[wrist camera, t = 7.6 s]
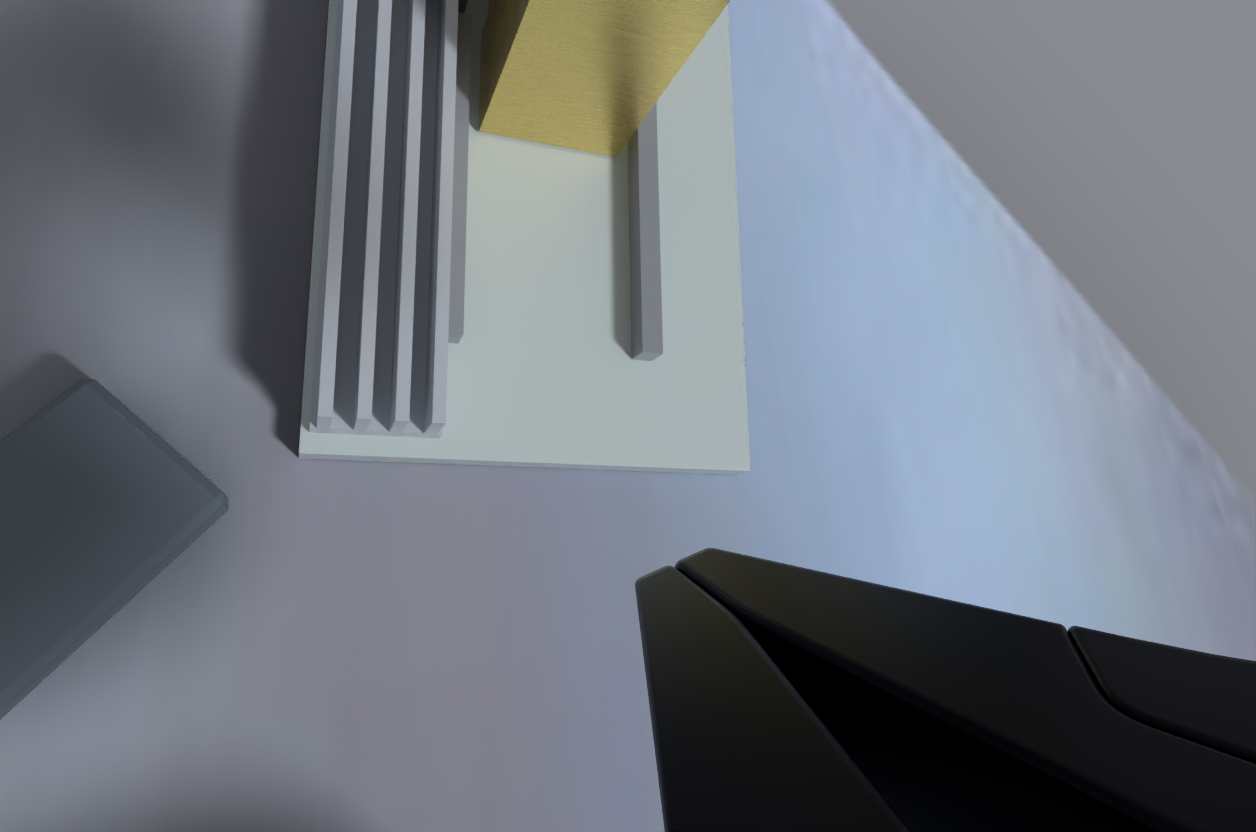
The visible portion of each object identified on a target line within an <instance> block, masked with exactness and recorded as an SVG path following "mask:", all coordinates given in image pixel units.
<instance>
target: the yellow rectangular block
mask: <svg viewBox="0 0 1256 832" xmlns="http://www.w3.org/2000/svg"><path fill="white" fill-rule="evenodd" d="M729 1H730V0H489V12H488V15H487V18H486V21H485V24H484V27H483V30H482V33H481V64H480V108H479V132H484V133H489V134H495V135H500V136H505V137H511V138H516V139H521V140H527V141H532V142H537V143H543V144H548V145H553V146H559V147H564V148H569V149H575V150H580V151H586V152H591V153H596V154H602V155H607V156H612V157H617V156H618V154H619V153H620V152H621V150H622V149H623V147H624V146H625V145H626V143H627V142H628V141H629V139H630V138H631V136H632V135H633V134H634V132H635V131H636V130H637V128H638V127H639V125H640V124H641V123H642V121H643V120H644V119H645V117H646V116H647V114H648V113H649V112H650V110H651V109H652V108H653V106H654V105H655V103H656V102H657V101H658V99H659V98H660V96H661V95H662V94H663V92H664V91H665V90H666V88H667V87H668V85H669V84H670V83H671V81H672V80H673V79H674V77H675V76H676V74H677V73H678V72H679V70H680V69H681V68H682V66H683V65H684V63H685V62H686V61H687V59H688V58H689V57H690V55H691V54H692V52H693V51H694V50H695V48H696V47H697V45H698V44H699V43H700V41H701V40H702V39H703V37H704V36H705V34H706V33H707V32H708V30H709V29H710V28H711V26H712V25H713V23H714V22H715V21H716V19H717V18H718V17H719V15H720V14H721V12H722V11H723V10H724V8H725V7H726V6H727V4H728V3H729Z"/></svg>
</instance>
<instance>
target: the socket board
mask: <svg viewBox="0 0 1256 832" xmlns="http://www.w3.org/2000/svg"><path fill="white" fill-rule="evenodd" d="M488 12H489V0H329V11H328V25H327V40H326V55H325V70H324V85H323V100H322V115H321V130H320V145H319V160H318V175H317V190H316V204H315V219H314V234H313V249H312V264H311V279H310V294H309V309H308V324H307V339H306V354H305V369H304V383H303V398H302V413H301V428H300V443H299V458H305V459H331V460H358V461H385V462H411V463H438V464H465V465H491V466H518V467H544V468H571V469H598V470H624V471H651V472H677V473H704V474H731V475H737V474H741V473H745V472H749V471H750V456H749V435H748V414H747V393H746V372H745V351H744V330H743V310H742V289H741V268H740V247H739V226H738V205H737V184H736V163H735V142H734V121H733V100H732V79H731V58H730V37H729V16H728V4H727V6H726V7H725V8H724V10H723V11H722V12H721V14H720V15H719V17H718V18H717V19H716V21H715V22H714V23H713V25H712V26H711V28H710V29H709V30H708V32H707V33H706V34H705V36H704V37H703V39H702V40H701V41H700V43H699V44H698V45H697V47H696V48H695V50H694V51H693V52H692V54H691V55H690V57H689V58H688V59H687V61H686V62H685V63H684V65H683V66H682V68H681V69H680V70H679V72H678V73H677V74H676V76H675V77H674V79H673V80H672V81H671V83H670V84H669V85H668V87H667V88H666V90H665V91H664V92H663V94H662V95H661V96H660V98H659V99H658V101H657V102H656V103H655V105H654V106H653V108H652V109H651V110H650V112H649V113H648V114H647V116H646V117H645V119H644V120H643V121H642V123H641V124H640V125H639V127H638V128H637V130H636V131H635V132H634V134H633V135H632V136H631V138H630V139H629V141H628V142H627V143H626V145H625V146H624V147H623V149H622V150H621V152H620V153H619V154H618V156H617V157H612V156H607V155H602V154H596V153H591V152H586V151H580V150H575V149H569V148H564V147H559V146H553V145H548V144H543V143H537V142H532V141H527V140H521V139H516V138H511V137H505V136H500V135H495V134H489V133H484V132H479V108H480V64H481V33H482V30H483V27H484V24H485V21H486V18H487V15H488Z"/></svg>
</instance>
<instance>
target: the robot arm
mask: <svg viewBox="0 0 1256 832" xmlns="http://www.w3.org/2000/svg"><path fill="white" fill-rule="evenodd" d="M635 589H636V597H637V606H638V614H639V622H640V630H641V639H642V647H643V655H644V664H645V672H646V680H647V688H648V697H649V705H650V713H651V721H652V730H653V738H654V746H655V754H656V763H657V771H658V779H659V788H660V796H661V804H662V812H663V821H664V829H665V832H1256V661H1250V660H1244V659H1238V658H1232V657H1226V656H1221V655H1215V654H1209V653H1204V652H1199V651H1194V650H1189V649H1184V648H1179V647H1174V646H1169V645H1164V644H1159V643H1154V642H1149V641H1144V640H1139V639H1134V638H1129V637H1124V636H1120V635H1115V634H1110V633H1106V632H1101V631H1097V630H1092V629H1087V628H1083V627H1078V626H1072V627H1070V628H1069V629H1068V632H1067V630H1066V628H1065V627H1064V626H1063V625H1061V624H1057V623H1053V622H1048V621H1044V620H1039V619H1035V618H1030V617H1025V616H1021V615H1016V614H1012V613H1007V612H1003V611H998V610H993V609H989V608H984V607H980V606H975V605H971V604H966V603H962V602H957V601H952V600H948V599H943V598H939V597H934V596H930V595H925V594H920V593H916V592H911V591H907V590H902V589H898V588H893V587H888V586H884V585H879V584H875V583H870V582H866V581H861V580H857V579H852V578H847V577H843V576H838V575H834V574H829V573H825V572H820V571H815V570H811V569H806V568H802V567H797V566H793V565H788V564H784V563H779V562H774V561H770V560H765V559H761V558H756V557H752V556H747V555H742V554H738V553H733V552H729V551H724V550H720V549H715V548H707V549H704V550H701V551H699V552H697V553H695V554H692V555H690V556H688V557H686V558H683V559H681V560H679V561H678V562H677V563H676V565H675V567H673V566H665V567H663V568H661V569H658V570H656V571H654V572H651V573H649V574H647V575H645V576H642V577H640V578H639V579H637V581H636V583H635Z"/></svg>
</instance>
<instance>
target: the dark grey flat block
mask: <svg viewBox="0 0 1256 832" xmlns="http://www.w3.org/2000/svg"><path fill="white" fill-rule="evenodd" d="M227 510H228V498H227V496H226V495H225V494H224V493H223V492H222V491H221V490H219V489H218V488H217V487H216V486H215V485H214V484H213V483H211V482H210V481H209V480H208V479H207V478H206V477H205V476H204V475H202V474H201V473H200V472H199V471H198V470H197V469H196V468H194V467H193V466H192V465H191V464H190V463H189V462H188V461H187V460H185V459H184V458H183V457H182V456H181V455H180V454H179V453H178V452H176V451H175V450H174V449H173V448H172V447H171V446H170V445H168V444H167V443H166V442H165V441H164V440H163V439H162V438H161V437H159V436H158V435H157V434H156V433H155V432H154V431H153V430H151V429H150V428H149V427H148V426H147V425H146V424H145V423H144V422H142V421H141V420H140V419H139V418H138V417H137V416H136V415H134V414H133V413H132V412H131V411H130V410H129V409H128V408H127V407H125V406H124V405H123V404H122V403H121V402H120V401H119V400H117V399H116V398H115V397H114V396H113V395H112V394H111V393H110V392H108V391H107V390H106V389H105V388H104V387H103V386H102V385H100V384H99V383H98V382H97V381H96V380H80V381H79V382H77V383H76V384H75V385H73V386H72V387H71V388H69V389H68V390H67V391H66V392H64V393H63V394H62V395H60V396H59V397H58V398H57V399H55V400H54V401H53V402H51V403H50V404H49V405H47V406H46V407H45V408H44V409H42V410H41V411H40V412H38V413H37V414H36V415H35V416H33V417H32V418H31V419H29V420H28V421H27V422H25V423H24V424H23V425H22V426H20V427H19V428H18V429H16V430H15V431H14V432H13V433H11V434H10V435H9V436H7V437H6V438H5V439H3V440H2V441H1V442H0V719H1V718H3V717H4V716H5V715H6V714H7V713H8V712H9V711H10V710H11V709H12V708H13V707H14V706H16V705H17V704H18V703H19V702H20V701H21V700H22V699H23V698H24V697H25V696H26V695H28V694H29V693H30V692H31V691H32V690H33V689H34V688H35V687H36V686H37V685H38V684H39V683H41V682H42V681H43V680H44V679H45V678H46V677H47V676H48V675H49V674H50V673H51V672H53V671H54V670H55V669H56V668H57V667H58V666H59V665H60V664H61V663H62V662H63V661H64V660H66V659H67V658H68V657H69V656H70V655H71V654H72V653H73V652H74V651H75V650H76V649H77V648H79V647H80V646H81V645H82V644H83V643H84V642H85V641H86V640H87V639H88V638H89V637H91V636H92V635H93V634H94V633H95V632H96V631H97V630H98V629H99V628H100V627H101V626H102V625H104V624H105V623H106V622H107V621H108V620H109V619H110V618H111V617H112V616H113V615H114V614H116V613H117V612H118V611H119V610H120V609H121V608H122V607H123V606H124V605H125V604H126V603H127V602H129V601H130V600H131V599H132V598H133V597H134V596H135V595H136V594H137V593H138V592H139V591H140V590H142V589H143V588H144V587H145V586H146V585H147V584H148V583H149V582H150V581H151V580H152V579H154V578H155V577H156V576H157V575H158V574H159V573H160V572H161V571H162V570H163V569H164V568H165V567H167V566H168V565H169V564H170V563H171V562H172V561H173V560H174V559H175V558H176V557H177V556H178V555H180V554H181V553H182V552H183V551H184V550H185V549H186V548H187V547H188V546H189V545H190V544H192V543H193V542H194V541H195V540H196V539H197V538H198V537H199V536H200V535H201V534H202V533H203V532H205V531H206V530H207V529H208V528H209V527H210V526H211V525H212V524H213V523H214V522H215V521H217V520H218V519H219V518H220V517H221V516H222V515H223V514H224V513H225V512H226V511H227Z"/></svg>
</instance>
